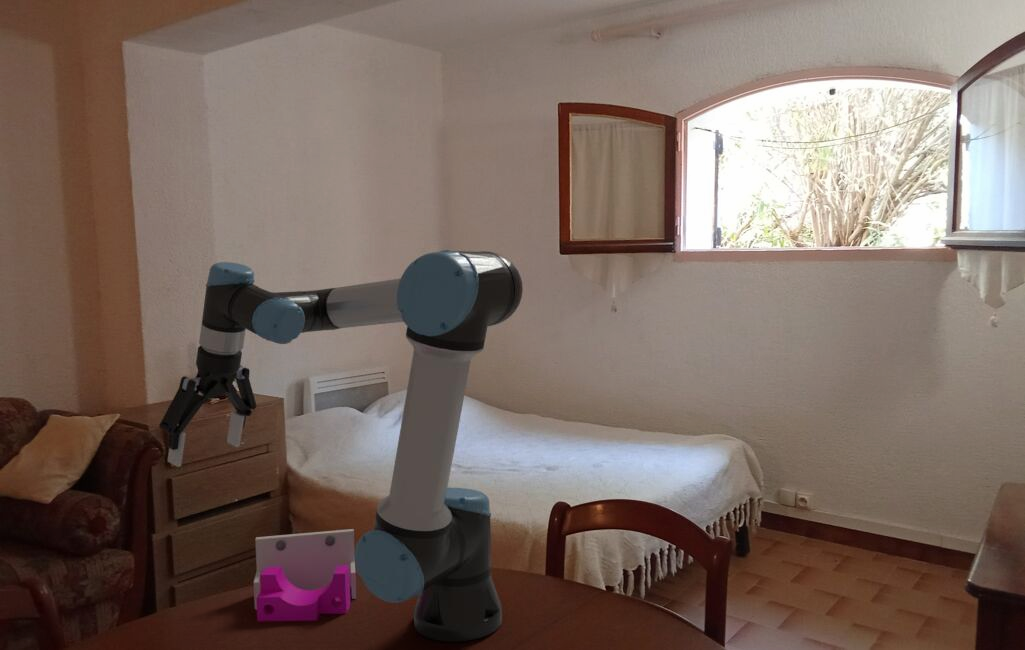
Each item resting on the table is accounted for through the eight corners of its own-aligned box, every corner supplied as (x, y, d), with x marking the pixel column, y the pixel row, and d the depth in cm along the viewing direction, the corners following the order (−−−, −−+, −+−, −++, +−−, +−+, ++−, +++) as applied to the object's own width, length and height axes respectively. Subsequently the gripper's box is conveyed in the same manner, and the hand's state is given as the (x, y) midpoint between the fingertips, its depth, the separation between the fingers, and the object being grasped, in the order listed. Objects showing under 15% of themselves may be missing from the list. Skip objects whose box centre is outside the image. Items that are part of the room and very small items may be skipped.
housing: (356, 598, 145) (354, 541, 144) (254, 609, 141) (252, 550, 141) (355, 584, 152) (353, 528, 151) (258, 594, 148) (256, 537, 147)
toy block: (257, 622, 137) (255, 580, 136) (268, 606, 143) (266, 566, 142) (343, 620, 137) (341, 579, 136) (350, 605, 143) (349, 565, 143)
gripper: (257, 332, 154) (241, 430, 159) (146, 351, 132) (132, 464, 137) (285, 344, 151) (268, 444, 156) (176, 366, 129) (161, 481, 134)
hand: (204, 453), depth 146 cm, fingers open, 13 cm apart
